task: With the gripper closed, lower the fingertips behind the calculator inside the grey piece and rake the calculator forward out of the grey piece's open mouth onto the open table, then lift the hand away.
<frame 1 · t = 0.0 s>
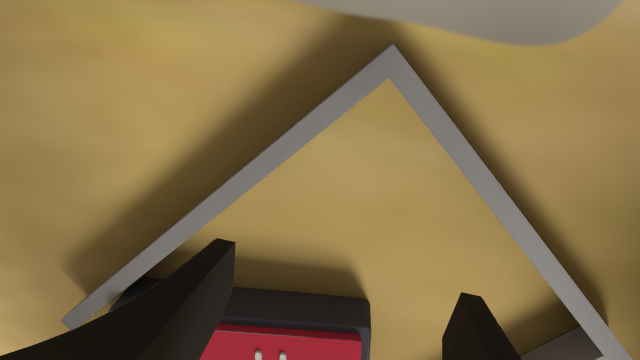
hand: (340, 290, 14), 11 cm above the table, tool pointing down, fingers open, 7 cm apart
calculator: (254, 353, 29), on the table
grey piece: (320, 315, 27), on the table
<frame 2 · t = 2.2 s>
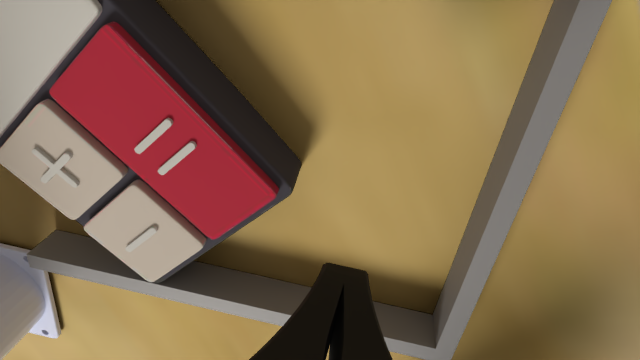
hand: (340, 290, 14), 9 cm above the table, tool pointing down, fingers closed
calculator: (141, 112, 23), on the table
grey piece: (247, 138, 22), on the table
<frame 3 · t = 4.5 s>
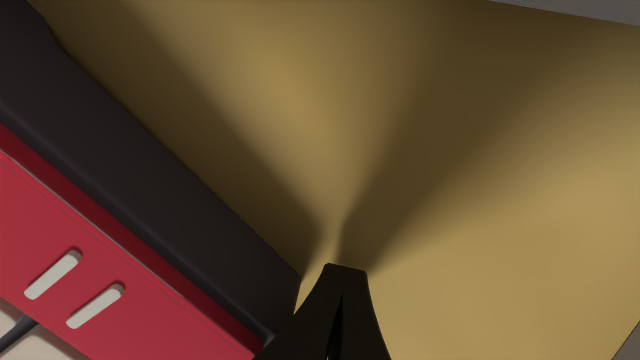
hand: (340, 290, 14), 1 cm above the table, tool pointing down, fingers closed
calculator: (62, 203, 16), on the table, touching gripper
grey piece: (265, 254, 15), on the table
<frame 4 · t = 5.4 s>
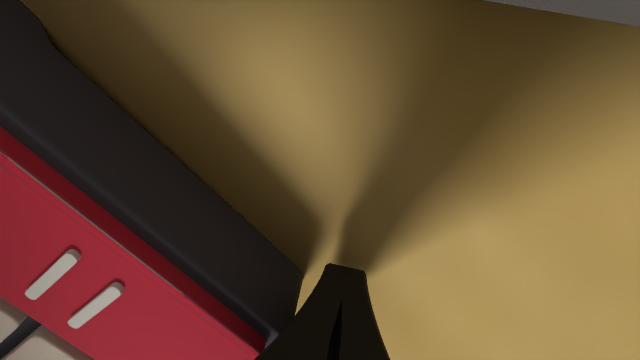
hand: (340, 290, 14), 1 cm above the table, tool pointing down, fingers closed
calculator: (63, 205, 16), on the table
grey piece: (405, 285, 14), on the table
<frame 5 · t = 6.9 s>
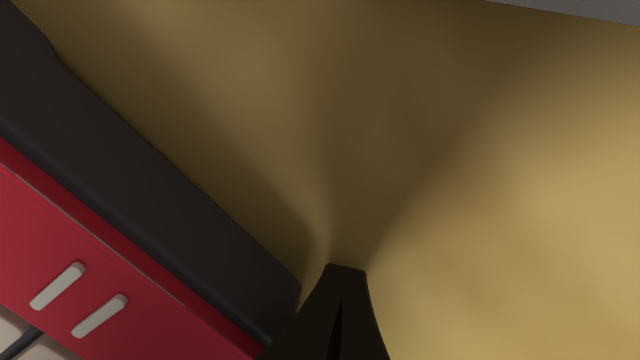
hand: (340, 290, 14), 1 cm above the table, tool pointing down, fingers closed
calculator: (65, 213, 16), on the table
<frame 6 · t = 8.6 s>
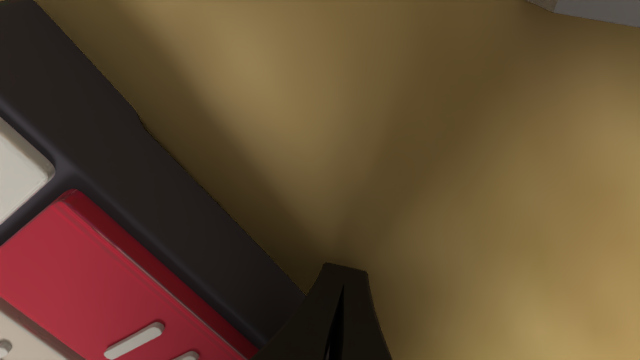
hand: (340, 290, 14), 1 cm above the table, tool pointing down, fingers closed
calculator: (120, 253, 17), on the table
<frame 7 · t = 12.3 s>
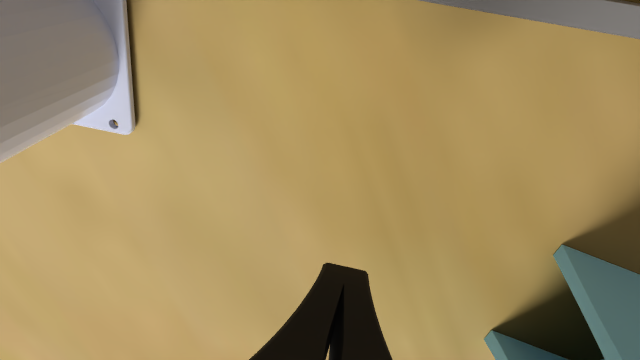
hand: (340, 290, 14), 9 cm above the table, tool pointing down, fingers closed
vase: (582, 317, 25), on the table
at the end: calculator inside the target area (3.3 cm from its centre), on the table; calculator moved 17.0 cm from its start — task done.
